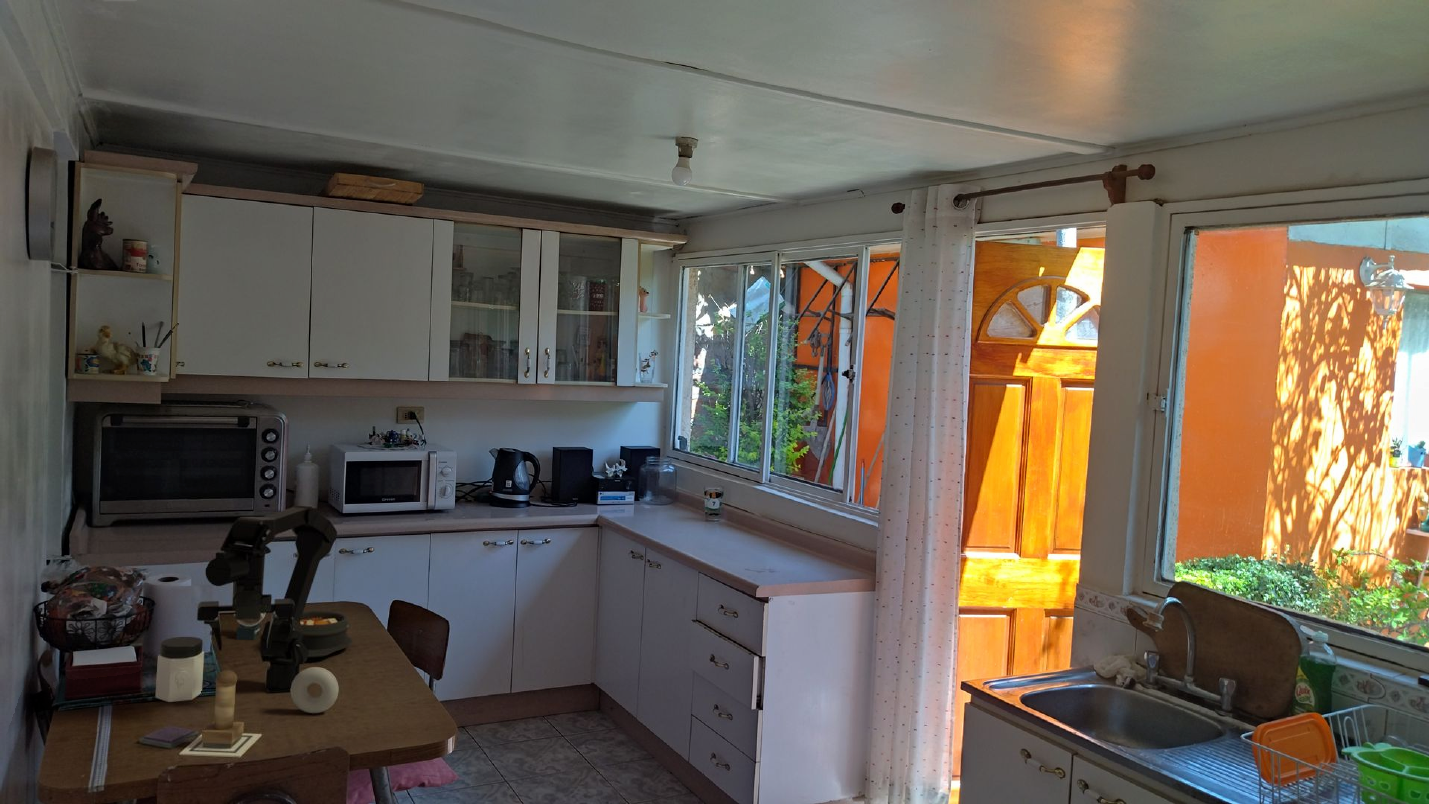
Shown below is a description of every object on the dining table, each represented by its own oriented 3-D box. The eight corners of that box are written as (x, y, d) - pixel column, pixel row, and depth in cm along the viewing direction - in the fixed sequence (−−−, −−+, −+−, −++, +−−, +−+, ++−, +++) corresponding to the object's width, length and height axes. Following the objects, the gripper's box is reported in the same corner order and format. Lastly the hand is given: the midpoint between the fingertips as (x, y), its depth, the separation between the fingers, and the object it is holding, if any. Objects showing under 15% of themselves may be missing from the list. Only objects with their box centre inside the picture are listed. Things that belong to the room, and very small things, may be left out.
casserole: (339, 665, 243) (341, 632, 243) (260, 663, 240) (263, 629, 240) (361, 637, 268) (363, 607, 268) (290, 635, 265) (292, 604, 265)
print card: (204, 733, 195) (204, 731, 195) (261, 735, 196) (261, 733, 196) (179, 755, 184) (179, 753, 184) (239, 757, 185) (239, 755, 185)
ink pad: (167, 730, 195) (167, 724, 195) (197, 736, 194) (197, 730, 194) (139, 742, 188) (139, 736, 188) (170, 748, 187) (170, 742, 187)
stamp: (213, 736, 193) (218, 665, 193) (242, 738, 194) (247, 666, 193) (201, 747, 188) (205, 674, 187) (231, 749, 188) (235, 675, 188)
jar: (156, 704, 209) (160, 648, 208) (154, 692, 216) (157, 638, 215) (203, 699, 214) (207, 644, 213) (199, 687, 220) (202, 635, 220)
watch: (261, 640, 258) (263, 599, 258) (229, 639, 257) (231, 597, 257) (267, 634, 264) (270, 594, 264) (235, 633, 263) (238, 593, 262)
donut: (286, 714, 208) (289, 668, 208) (292, 709, 212) (295, 663, 212) (334, 717, 209) (337, 670, 209) (339, 711, 213) (342, 666, 212)
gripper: (199, 586, 197) (194, 663, 198) (299, 584, 206) (294, 657, 206) (199, 574, 207) (195, 647, 208) (295, 572, 216) (290, 642, 216)
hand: (244, 649), depth 209 cm, fingers open, 9 cm apart
